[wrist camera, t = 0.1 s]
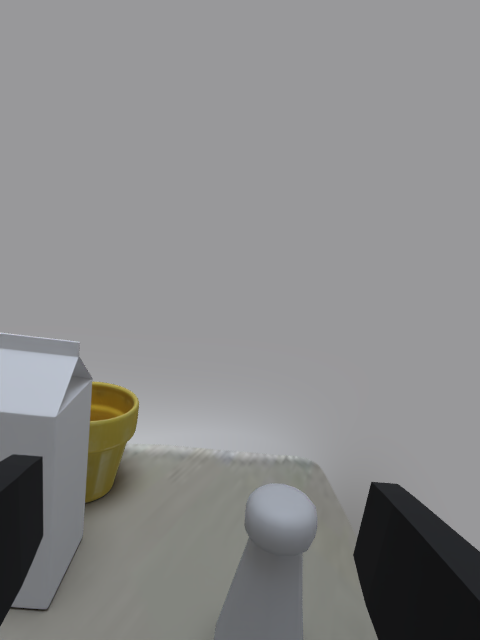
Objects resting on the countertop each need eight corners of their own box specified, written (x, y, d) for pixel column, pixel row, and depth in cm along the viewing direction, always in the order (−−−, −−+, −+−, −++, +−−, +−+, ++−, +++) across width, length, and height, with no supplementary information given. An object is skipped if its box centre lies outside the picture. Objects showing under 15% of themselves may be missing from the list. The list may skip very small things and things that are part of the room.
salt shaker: (191, 668, 26) (214, 490, 23) (249, 615, 30) (274, 459, 27) (258, 753, 22) (295, 551, 19) (315, 678, 26) (351, 504, 24)
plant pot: (139, 461, 48) (146, 384, 46) (120, 521, 38) (128, 426, 36) (51, 454, 47) (54, 376, 45) (6, 514, 37) (8, 416, 35)
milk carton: (47, 612, 28) (58, 356, 24) (-56, 604, 28) (-61, 343, 24) (83, 538, 35) (95, 330, 31) (1, 530, 35) (4, 320, 31)
